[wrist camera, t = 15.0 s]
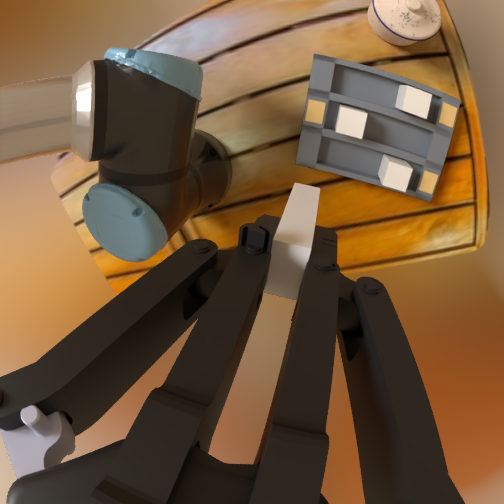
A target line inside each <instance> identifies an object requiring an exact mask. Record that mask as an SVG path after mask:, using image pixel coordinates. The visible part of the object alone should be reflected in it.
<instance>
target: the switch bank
mask: <svg viewBox="0 0 504 504" xmlns="http://www.w3.org/2000/svg"><path fill="white" fill-rule="evenodd" d="M399 85H408V86H411V87H414V88H416V89H419V90H422V91H424V92H427V93H429V94H432V98H431V102H430V107H429V111H428V115H427V119H425V118H422V117H420V116H417V115H414V114H411V113H409V112H406V111H403V110H400V109H398V108H396V107H395V104H396V99H397V95H398V90H399ZM460 101H461V100H459V99H456V98H454V97H452V96H450V95H448V94H445V93H443V92H441V91H438V90H436V89H434V88H431V87H429V86H426V85H423V84H421V83H418V82H416V81H413V80H410V79H407V78H404V77H402V76H399V75H396V74H393V73H389V72H386V71H383V70H380V69H376V68H373V67H369V66H366V65H362V64H358V63H354V62H350V61H346V60H342V59H338V58H333V57H328V56H324V55H318V54H314V58H313V64H312V70H311V77H310V83H309V89H308V95H307V101H306V106H305V112H304V118H303V124H302V129H301V135H300V141H299V146H298V152H297V157H296V163H295V164H296V165H301V166H305V167H310V168H314V169H318V170H322V171H326V172H330V173H334V174H338V175H342V176H346V177H349V178H353V179H357V180H360V181H364V182H367V183H371V184H374V185H378V186H381V187H384V188H388V189H391V190H394V191H397V192H401V193H404V194H407V195H410V196H413V197H416V198H419V199H422V200H425V201H428V202H431V199H432V197H433V194H434V191H435V188H436V185H437V183H438V180H439V177H440V174H441V171H442V168H443V164H444V161H445V158H446V155H447V151H448V148H449V145H450V141H451V138H452V134H453V130H454V126H455V122H456V118H457V114H458V110H459V106H460ZM340 104H342V105H346V106H350V107H353V108H357V109H361V110H364V111H365V112H366V113H367V119H366V123H365V128H364V132H363V136H362V139H360V138H356V137H352V136H349V135H345V134H341V133H337V132H336V130H335V126H336V121H337V116H338V111H339V106H340ZM384 153H386V154H389V155H393V156H396V157H399V158H402V159H405V160H406V161H407V162H408V164H409V165H410V166H411V167H412V169H413V170H412V173H411V176H410V179H409V183H408V186H407V189H406V192H403V191H400V190H397V189H393V188H390V187H387V186H384V185H382V183H381V181H380V178H379V176H378V172H379V168H380V165H381V161H382V157H383V154H384Z"/></svg>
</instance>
